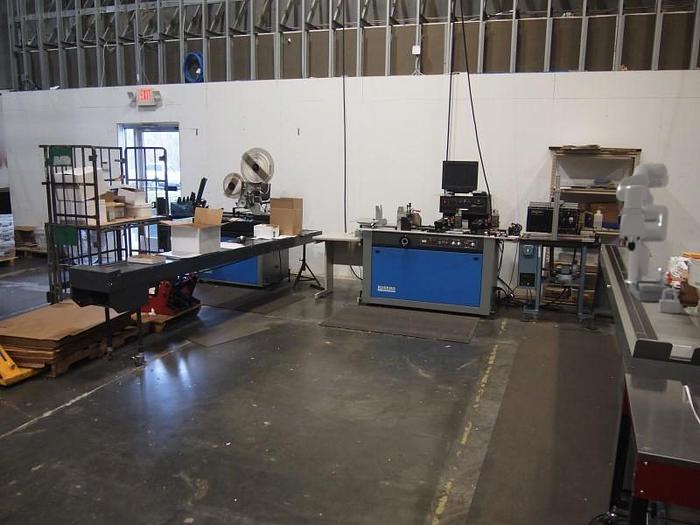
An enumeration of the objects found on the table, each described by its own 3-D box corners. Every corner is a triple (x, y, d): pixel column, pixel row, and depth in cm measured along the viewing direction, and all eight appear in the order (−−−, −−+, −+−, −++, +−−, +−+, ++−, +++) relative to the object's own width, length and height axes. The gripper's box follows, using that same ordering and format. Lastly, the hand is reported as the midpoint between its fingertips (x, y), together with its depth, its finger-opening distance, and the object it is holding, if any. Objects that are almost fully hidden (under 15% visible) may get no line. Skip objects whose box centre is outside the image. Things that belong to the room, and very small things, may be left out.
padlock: (659, 312, 222) (660, 288, 221) (658, 310, 226) (659, 287, 224) (679, 313, 219) (680, 289, 217) (678, 311, 222) (679, 288, 221)
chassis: (628, 290, 267) (629, 276, 266) (658, 291, 263) (659, 277, 262) (639, 301, 243) (639, 286, 242) (671, 302, 238) (672, 287, 237)
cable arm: (658, 288, 266) (659, 267, 265) (665, 288, 264) (666, 268, 263) (639, 296, 248) (640, 275, 247) (647, 297, 246) (648, 275, 244)
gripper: (649, 211, 254) (647, 250, 256) (614, 211, 259) (612, 249, 261) (652, 212, 247) (650, 251, 249) (616, 212, 251) (615, 251, 254)
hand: (631, 250), depth 255 cm, fingers closed
